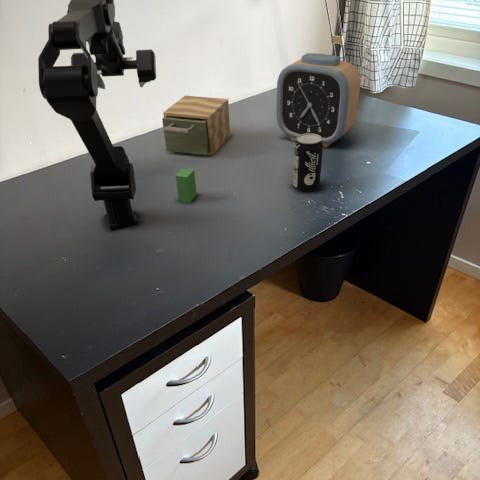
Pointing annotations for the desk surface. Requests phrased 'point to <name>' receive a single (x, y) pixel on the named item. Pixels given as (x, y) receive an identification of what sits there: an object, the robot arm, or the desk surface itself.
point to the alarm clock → (318, 97)
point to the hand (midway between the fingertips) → (123, 86)
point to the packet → (186, 185)
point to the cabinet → (205, 116)
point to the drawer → (186, 135)
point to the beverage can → (307, 162)
